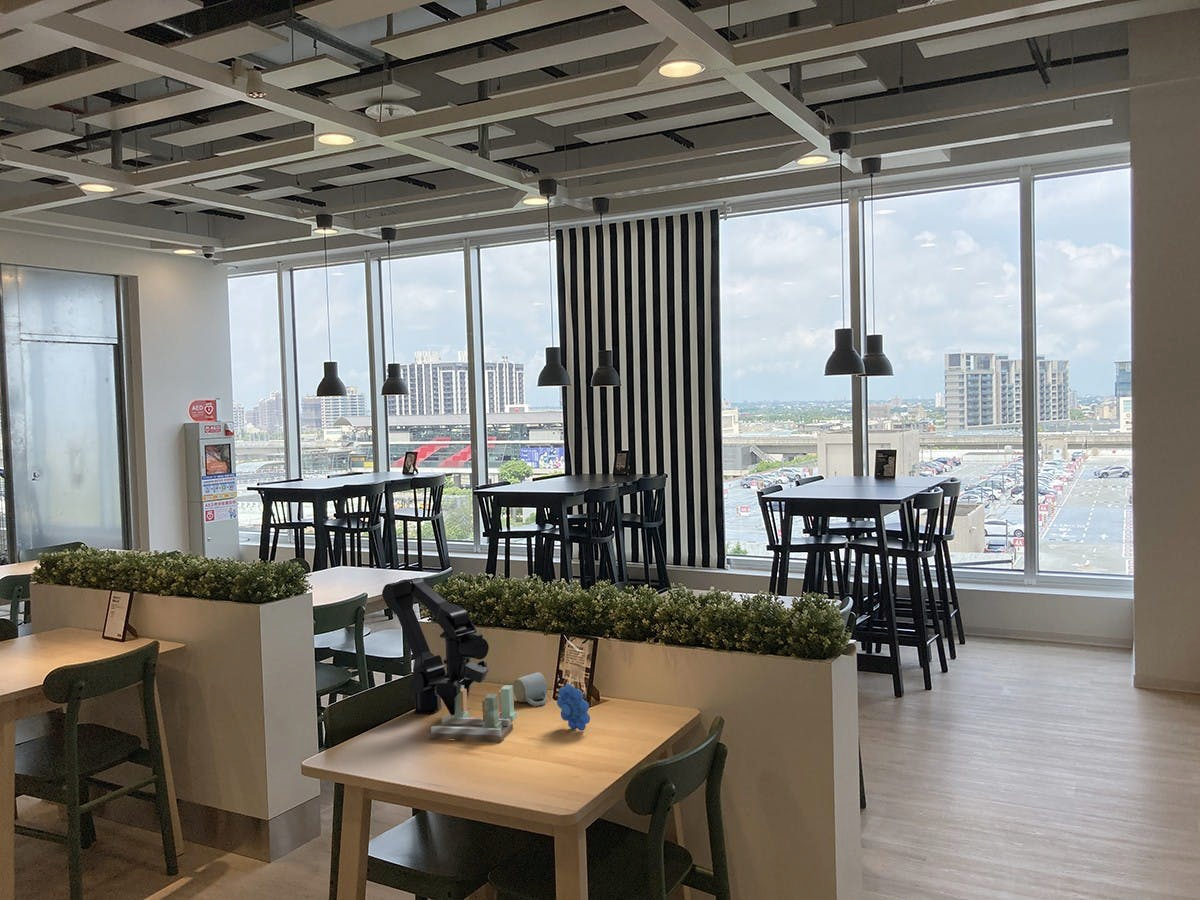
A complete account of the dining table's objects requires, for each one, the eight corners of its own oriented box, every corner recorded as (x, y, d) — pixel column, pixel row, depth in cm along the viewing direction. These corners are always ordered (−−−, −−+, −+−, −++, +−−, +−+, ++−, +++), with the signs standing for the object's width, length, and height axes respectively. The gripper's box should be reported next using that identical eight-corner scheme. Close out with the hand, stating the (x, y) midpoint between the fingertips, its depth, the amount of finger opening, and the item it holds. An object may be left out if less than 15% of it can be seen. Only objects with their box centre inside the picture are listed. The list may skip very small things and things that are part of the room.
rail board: (428, 739, 255) (426, 699, 254) (443, 726, 264) (441, 688, 264) (501, 742, 250) (499, 702, 250) (513, 729, 260) (511, 690, 259)
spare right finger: (498, 721, 267) (497, 689, 267) (503, 716, 271) (502, 684, 271) (512, 721, 266) (511, 689, 266) (517, 717, 270) (515, 685, 270)
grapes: (547, 729, 259) (545, 684, 258) (565, 722, 264) (563, 679, 263) (578, 738, 251) (576, 692, 250) (596, 731, 256) (594, 686, 255)
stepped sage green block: (449, 720, 269) (448, 688, 269) (455, 716, 273) (453, 684, 273) (463, 721, 268) (462, 689, 268) (468, 716, 272) (467, 685, 272)
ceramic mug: (511, 700, 286) (511, 674, 286) (535, 694, 291) (535, 669, 290) (529, 709, 277) (528, 683, 277) (554, 703, 282) (553, 677, 281)
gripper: (471, 664, 259) (474, 721, 260) (494, 646, 277) (497, 700, 278) (433, 663, 261) (435, 720, 262) (458, 645, 280) (460, 699, 280)
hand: (458, 709), depth 271 cm, fingers open, 9 cm apart
